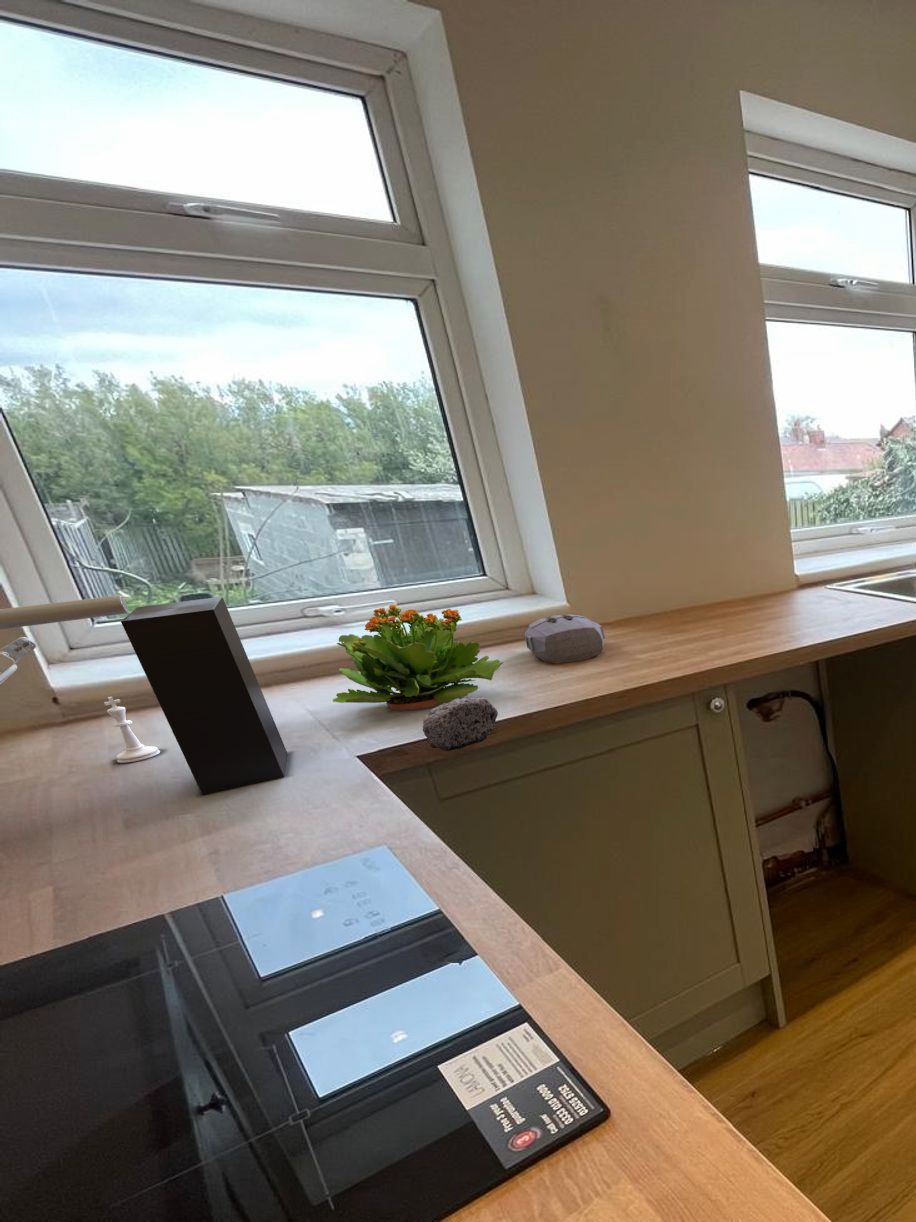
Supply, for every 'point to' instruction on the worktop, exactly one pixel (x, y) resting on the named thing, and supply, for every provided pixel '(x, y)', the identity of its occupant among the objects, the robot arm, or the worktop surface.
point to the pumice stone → (460, 723)
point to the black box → (208, 692)
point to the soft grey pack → (564, 638)
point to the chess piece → (129, 736)
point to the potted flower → (412, 661)
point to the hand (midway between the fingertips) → (20, 648)
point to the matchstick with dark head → (62, 611)
